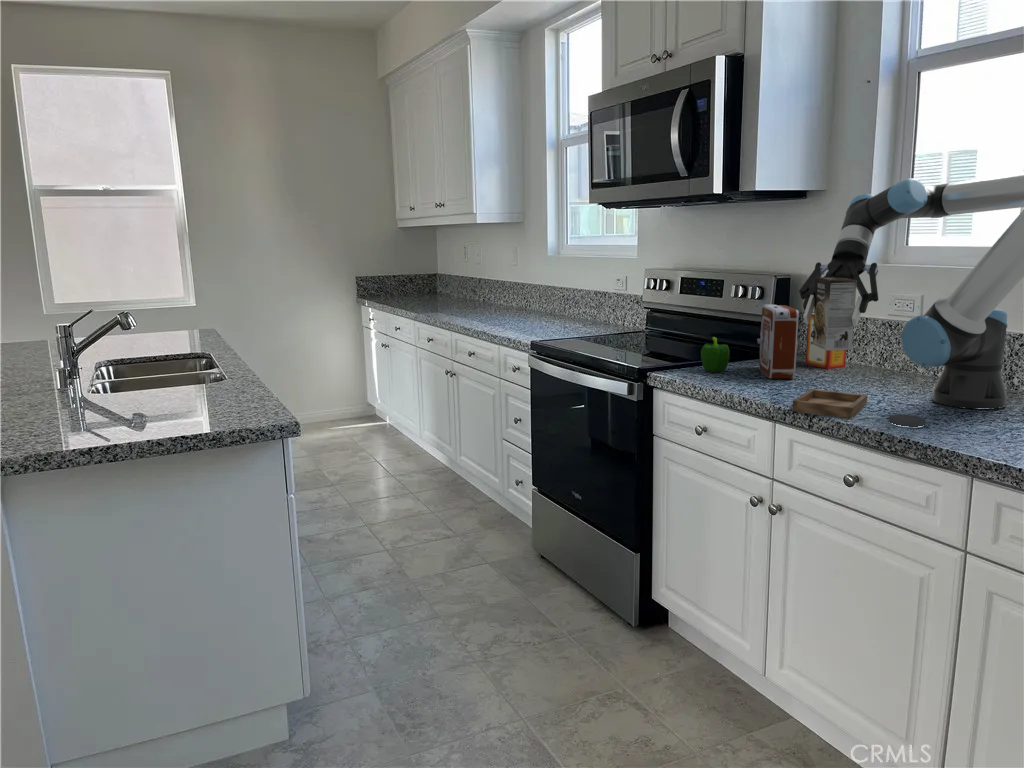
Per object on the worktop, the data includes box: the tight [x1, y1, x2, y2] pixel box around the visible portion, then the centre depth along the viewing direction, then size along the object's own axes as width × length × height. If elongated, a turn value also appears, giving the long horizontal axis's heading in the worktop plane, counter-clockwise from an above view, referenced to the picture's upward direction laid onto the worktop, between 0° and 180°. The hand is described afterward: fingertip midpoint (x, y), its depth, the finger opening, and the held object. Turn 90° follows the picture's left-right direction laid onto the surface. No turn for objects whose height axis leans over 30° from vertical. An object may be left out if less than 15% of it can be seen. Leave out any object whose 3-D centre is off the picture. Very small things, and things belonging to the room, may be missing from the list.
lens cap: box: [888, 413, 926, 427], centre depth 163 cm, size 7×7×2 cm
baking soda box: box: [804, 312, 847, 370], centre depth 228 cm, size 10×6×16 cm
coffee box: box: [813, 276, 857, 351], centre depth 175 cm, size 9×6×16 cm
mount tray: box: [791, 388, 868, 419], centre depth 178 cm, size 13×15×2 cm
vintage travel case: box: [756, 304, 800, 380], centre depth 217 cm, size 9×19×20 cm, turn 174°
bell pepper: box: [700, 336, 731, 373], centre depth 223 cm, size 8×8×10 cm
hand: (829, 321), depth 172 cm, fingers closed on coffee box, 10 cm apart
